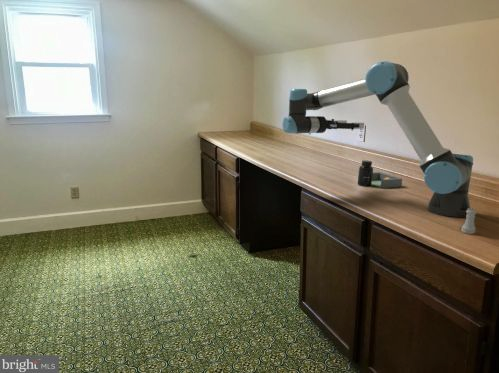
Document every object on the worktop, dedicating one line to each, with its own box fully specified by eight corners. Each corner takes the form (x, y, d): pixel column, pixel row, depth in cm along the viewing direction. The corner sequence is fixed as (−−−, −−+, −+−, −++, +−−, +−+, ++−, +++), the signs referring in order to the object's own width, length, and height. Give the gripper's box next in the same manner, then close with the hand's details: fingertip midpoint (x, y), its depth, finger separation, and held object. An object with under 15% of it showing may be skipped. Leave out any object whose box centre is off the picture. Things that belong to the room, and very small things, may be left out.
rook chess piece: (458, 229, 141) (461, 207, 139) (472, 230, 140) (475, 207, 139) (463, 233, 137) (467, 210, 135) (477, 234, 136) (481, 211, 134)
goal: (382, 188, 199) (383, 180, 198) (360, 180, 214) (361, 173, 213) (401, 186, 203) (402, 178, 202) (378, 179, 218) (379, 172, 217)
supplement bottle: (364, 187, 200) (367, 162, 197) (354, 184, 206) (356, 160, 203) (374, 185, 204) (377, 161, 201) (364, 182, 209) (366, 159, 207)
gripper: (301, 130, 198) (338, 129, 206) (330, 136, 176) (370, 135, 183) (302, 114, 196) (340, 114, 204) (331, 118, 174) (372, 118, 182)
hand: (354, 124), depth 194 cm, fingers open, 13 cm apart
